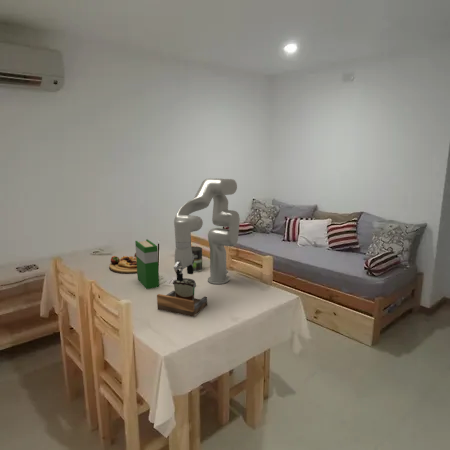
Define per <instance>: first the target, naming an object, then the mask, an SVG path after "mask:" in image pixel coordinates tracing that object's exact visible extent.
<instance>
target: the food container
mask: <svg viewBox="0 0 450 450" xmlns="http://www.w3.org/2000/svg"><path fill="white" fill-rule="evenodd" d="M172 285H173V288H174V291H175V296H176V297H177V298H182V299H187V300H193V301H194V298H195V289H196V288H197V283H196V281H195V280H194V279H193V278H188V277H187V278H185V277H183V281H182V282H181V281H177V279H174V280H173V282H172Z"/></svg>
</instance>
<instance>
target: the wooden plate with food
mask: <svg viewBox="0 0 450 450" xmlns="http://www.w3.org/2000/svg"><path fill="white" fill-rule="evenodd" d="M109 270H110V271H112V272H113V273H117V274H121V275H130V274H131V275H133V274H137V260H136V252H135V253H134V255H133V256H132V255H131V256H130V255H129V256H127V255H125V256H124V255H123V257H122V256H121V257H118V256H117V255H113V256H111V258H110V264H109Z"/></svg>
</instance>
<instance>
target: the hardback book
mask: <svg viewBox="0 0 450 450" xmlns="http://www.w3.org/2000/svg"><path fill="white" fill-rule="evenodd" d="M134 243H135V253H136V260H137V273H136V274H137V275H136V276H137V281H138V282H139V283H141V286H143V287H144V288H145V289H146V290H150V289H155V288H159V287H160V274H159V273H160V271H159V264H158V263H159V255H158V253H159V251H158V245H156V244H155V243H154V242H152V241H150V240H149V239H148V238H147V239H145V240H142V241H138V240H135V242H134Z"/></svg>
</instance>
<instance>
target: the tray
mask: <svg viewBox="0 0 450 450" xmlns="http://www.w3.org/2000/svg"><path fill="white" fill-rule="evenodd" d="M156 304H157V310H160V311H164V312H168V313H173V314H178V315H182V316H185V317H186V316H187V317H192V318H193V317H195V316H197V315H198V313H200V312H201V311H203V309H204V308H206V307H207V306H208V297H207V296H203V297H202V298H195V297H194V301H193V300H187V299H182V298H177V297H176V296H175V290H172V291H170V292H169V293H167V294H163V293H158V294H157V295H156Z"/></svg>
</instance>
